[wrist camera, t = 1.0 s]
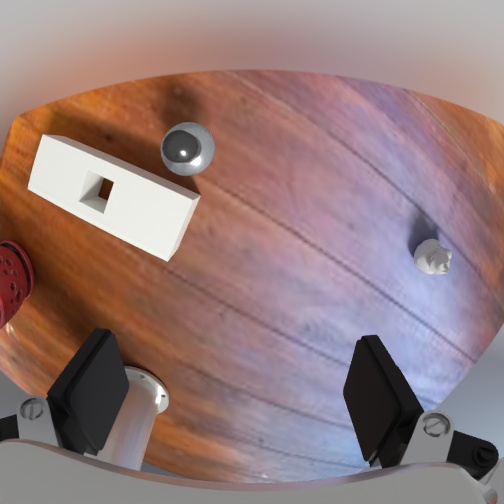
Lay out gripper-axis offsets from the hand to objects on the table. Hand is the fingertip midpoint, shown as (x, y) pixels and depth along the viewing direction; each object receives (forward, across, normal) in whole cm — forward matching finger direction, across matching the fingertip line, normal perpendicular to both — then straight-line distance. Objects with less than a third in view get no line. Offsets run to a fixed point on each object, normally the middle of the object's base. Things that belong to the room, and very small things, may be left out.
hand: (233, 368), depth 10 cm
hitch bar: (+28, +18, -4) cm, 34 cm away
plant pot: (+28, +42, +9) cm, 52 cm away
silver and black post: (+29, +6, -8) cm, 31 cm away
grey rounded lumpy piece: (+29, -28, +5) cm, 41 cm away
